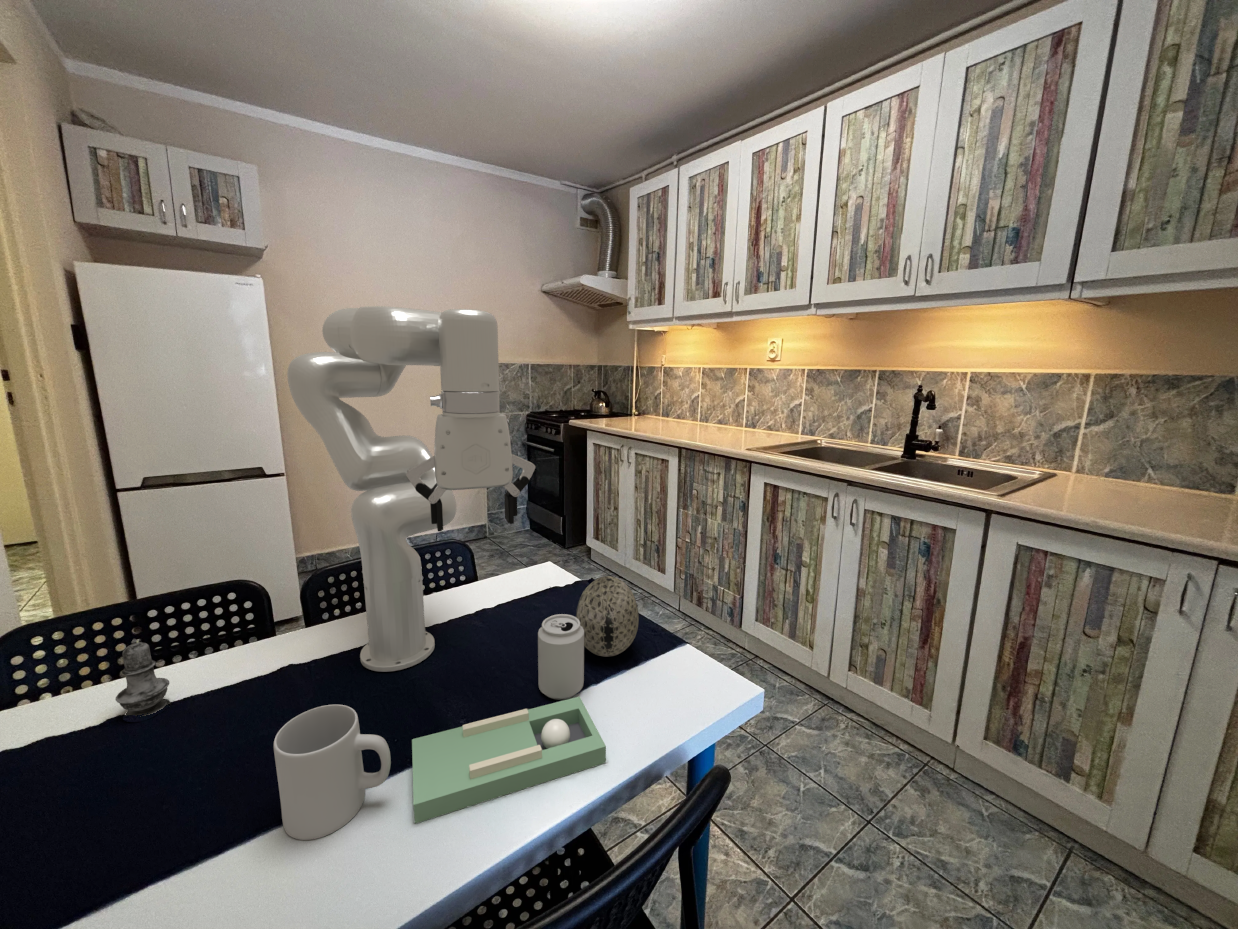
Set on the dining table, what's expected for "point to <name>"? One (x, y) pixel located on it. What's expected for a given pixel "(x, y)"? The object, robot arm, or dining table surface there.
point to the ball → (555, 733)
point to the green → (499, 757)
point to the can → (561, 656)
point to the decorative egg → (608, 616)
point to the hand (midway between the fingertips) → (475, 524)
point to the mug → (324, 770)
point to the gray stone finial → (141, 682)
